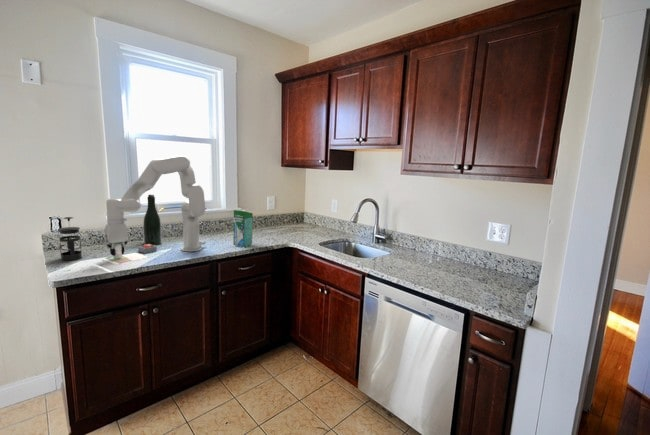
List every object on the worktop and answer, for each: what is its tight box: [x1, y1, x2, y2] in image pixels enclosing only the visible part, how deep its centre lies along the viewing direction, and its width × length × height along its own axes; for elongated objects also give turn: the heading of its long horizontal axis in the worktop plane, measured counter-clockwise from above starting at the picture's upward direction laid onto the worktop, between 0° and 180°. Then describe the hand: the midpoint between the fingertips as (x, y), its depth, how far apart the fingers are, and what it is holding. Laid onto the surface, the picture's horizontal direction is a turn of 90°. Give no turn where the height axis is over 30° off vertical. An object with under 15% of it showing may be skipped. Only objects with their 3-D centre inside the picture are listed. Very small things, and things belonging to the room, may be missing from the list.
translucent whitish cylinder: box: [112, 242, 123, 258], centre depth 174 cm, size 4×4×8 cm
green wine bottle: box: [142, 194, 162, 246], centre depth 210 cm, size 10×10×33 cm
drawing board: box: [101, 252, 149, 265], centre depth 176 cm, size 20×16×1 cm
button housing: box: [137, 245, 158, 254], centre depth 191 cm, size 7×7×4 cm
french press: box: [58, 216, 83, 262], centre depth 171 cm, size 12×9×23 cm
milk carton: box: [232, 209, 254, 248], centre depth 218 cm, size 9×9×25 cm
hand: (117, 254), depth 174 cm, fingers closed on translucent whitish cylinder, 3 cm apart
